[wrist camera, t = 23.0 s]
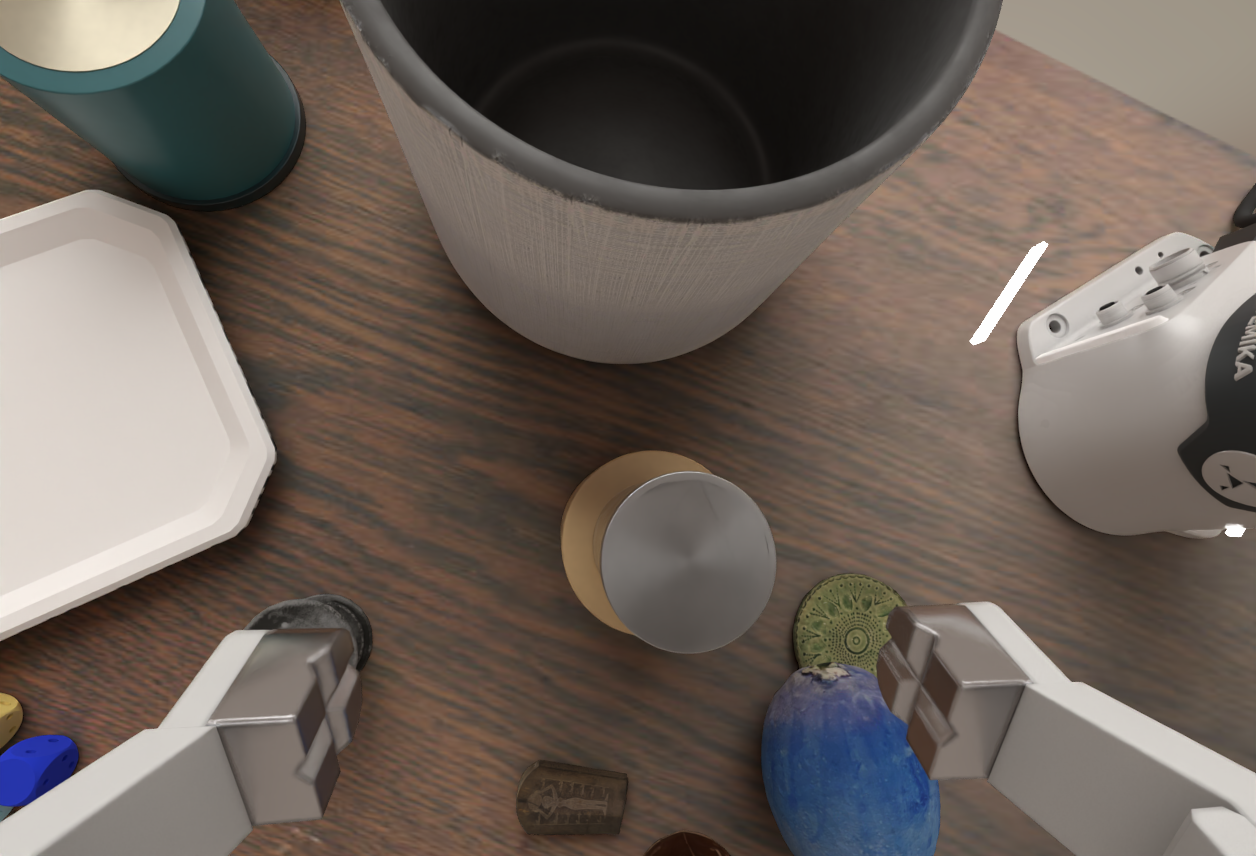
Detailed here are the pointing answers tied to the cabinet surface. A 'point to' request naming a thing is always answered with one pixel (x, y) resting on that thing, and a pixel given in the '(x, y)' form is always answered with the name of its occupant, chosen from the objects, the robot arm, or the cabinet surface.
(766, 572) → the silver cup
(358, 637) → the salt shaker
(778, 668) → the cabinet surface
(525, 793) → the block
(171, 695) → the cabinet surface
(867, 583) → the medallion
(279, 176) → the teal cylindrical knob
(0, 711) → the dice
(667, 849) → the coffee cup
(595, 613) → the stand
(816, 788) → the blue oval fruit
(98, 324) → the plate
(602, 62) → the planter
